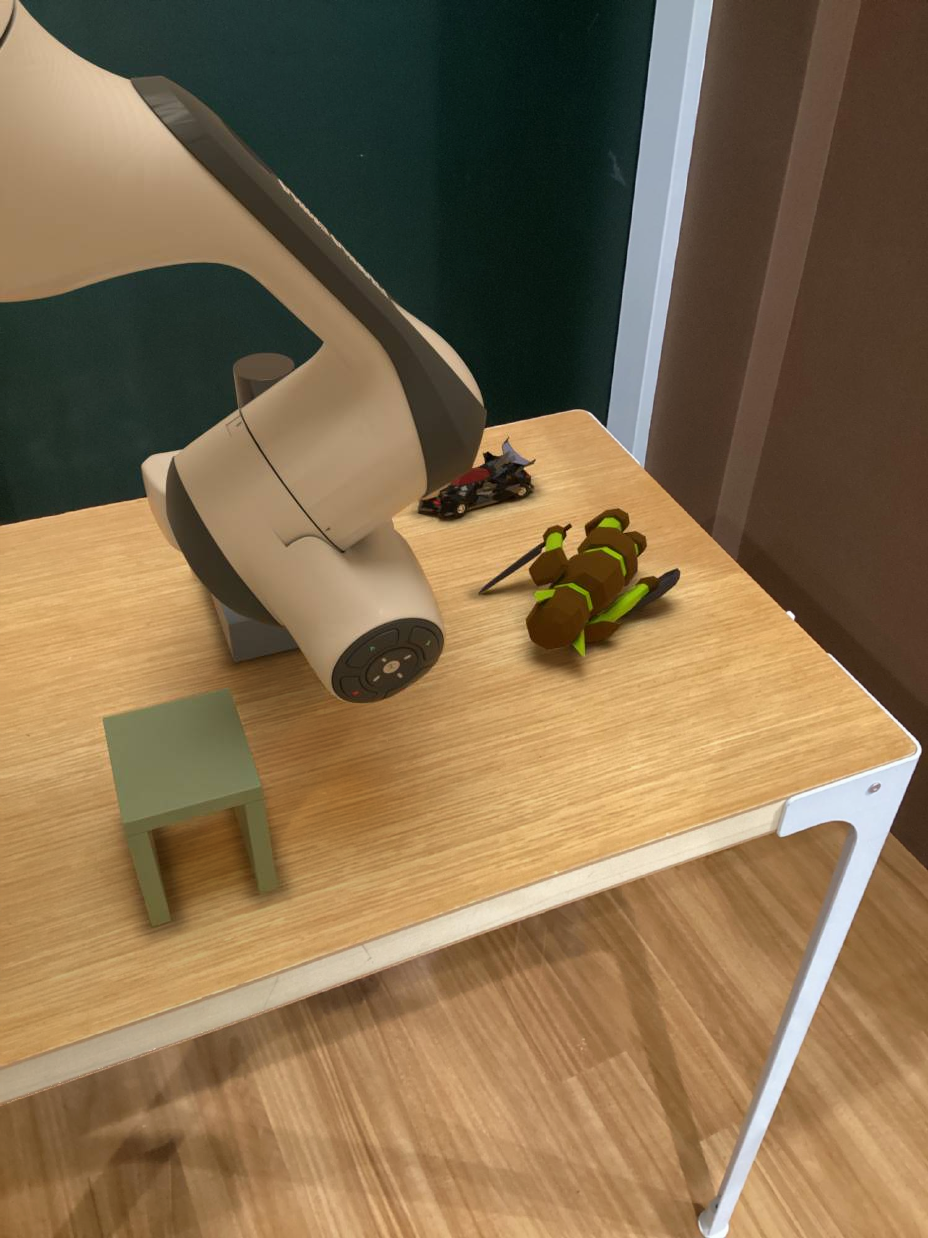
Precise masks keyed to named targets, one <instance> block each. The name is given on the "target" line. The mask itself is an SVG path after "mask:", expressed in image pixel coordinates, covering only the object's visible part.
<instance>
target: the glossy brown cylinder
mask: <svg viewBox="0 0 928 1238" xmlns="http://www.w3.org/2000/svg"><path fill="white" fill-rule="evenodd" d="M294 370H296V368H295V362H294V361H293V359H292V358H290V357H289V356H286V355H284V354H280V353H276V352H259V353H253V354H250V355H249V354H248V355H246V356H244V357H243V356H242V358H240V359H238V360H237V361H236V362H235V363H234V364H233V366H232V372H233V373H232V374H233V379H234V387H235V395H236V402H237V409H239V408H243V407H244V406H245V405H247V404H248V403H250V402H251V401H252V400H254V399H255V398H257V397H258V396H259V395H261V394H262V393H264V392H265V391H266V390H268V389H269V388H271V387H272V386H273V385H275V384H276V383H278V382H279V381H280V380H282V379H283V378H285V377H286V376H287V375H289V374H290V373H292V372H293V371H294Z"/></svg>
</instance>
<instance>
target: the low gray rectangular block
mask: <svg viewBox="0 0 928 1238" xmlns="http://www.w3.org/2000/svg"><path fill="white" fill-rule="evenodd" d="M209 593H210V596H211V599H212V602H213V605H214V609H215V611H216V614H217V616H218V620H219V622H220V626H221V628H222V631H223V634H224V637H225V640H226V643H227V646H228V649H229V651H230V655H231V657H232V661H233V663H234V664H236V663H240V662H244V661H249V660H252V659H256V658H260V657H264V656H269V655H274V654H278V653H281V652H282V653H283V652H285V651H290V650H295V649H298V648H299V646H298V644H297V643H296V641H295V640H294V638H293V637H292V635H291V634H290V632H289V631H288V629H287V628H286V627H285V625H283V627H275V626H270V625H267V624H263V623H260V622H258V621H255V620H252V619H249V618H247V617H244V616H241V615H239V614H237V613H236V612H234V611H232V610H231V609H229V608H228V607H226V606H225V605H224V604H223V603H221V602H220V601H219V600H218V599H217V598H216V597H215V596H214V595H213V594H212V593H211V592H210V591H209ZM299 649H300V648H299Z"/></svg>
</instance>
